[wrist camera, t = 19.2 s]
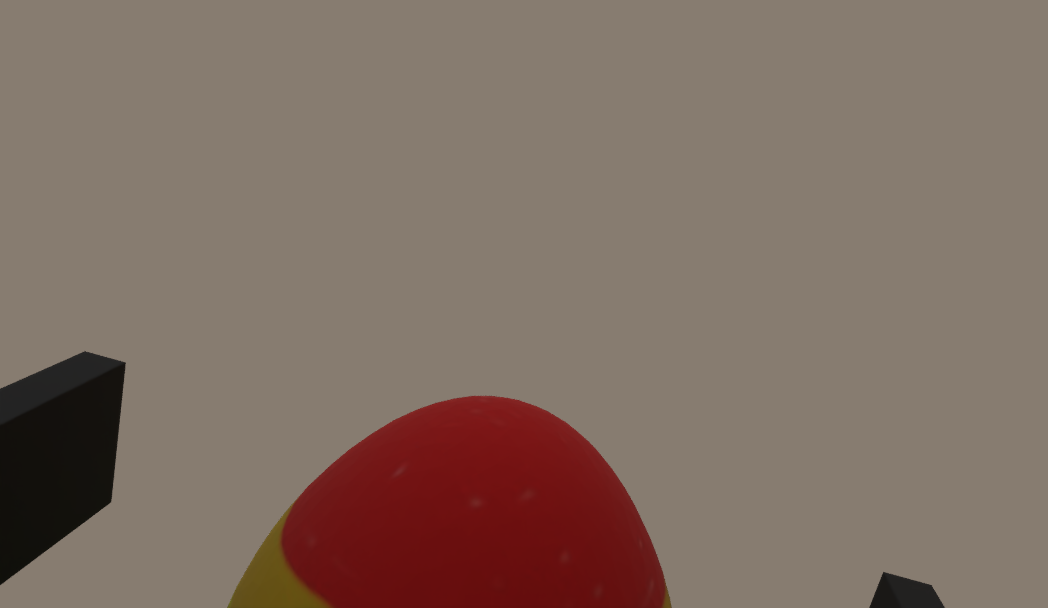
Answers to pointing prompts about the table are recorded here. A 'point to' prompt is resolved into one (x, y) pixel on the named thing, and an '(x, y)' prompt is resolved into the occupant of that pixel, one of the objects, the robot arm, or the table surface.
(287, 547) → the decorative egg
